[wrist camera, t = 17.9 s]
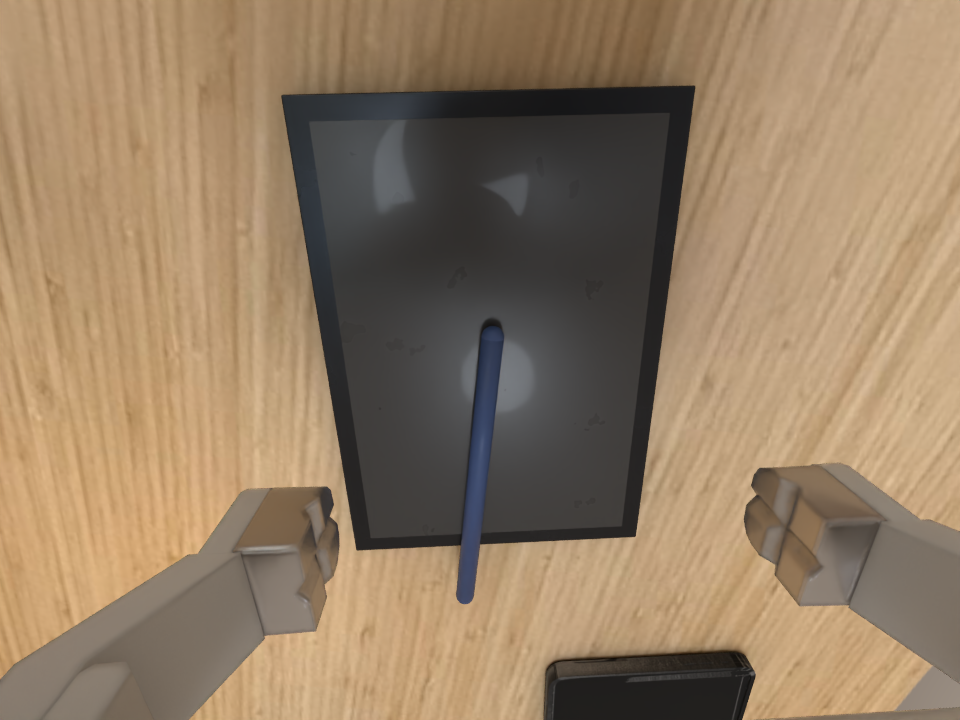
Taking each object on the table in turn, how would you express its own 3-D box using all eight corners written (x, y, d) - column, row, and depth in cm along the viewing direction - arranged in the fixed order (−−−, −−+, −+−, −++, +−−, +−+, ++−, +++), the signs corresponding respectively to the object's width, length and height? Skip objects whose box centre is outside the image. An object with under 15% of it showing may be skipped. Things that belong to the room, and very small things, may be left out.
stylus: (482, 328, 21) (454, 607, 28) (505, 331, 21) (472, 609, 28) (482, 321, 22) (456, 592, 29) (504, 324, 22) (473, 593, 29)
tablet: (289, 98, 20) (279, 94, 18) (685, 89, 20) (697, 84, 19) (359, 538, 29) (355, 552, 28) (630, 525, 29) (636, 538, 28)
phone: (737, 733, 36) (545, 745, 35) (729, 717, 37) (543, 728, 36) (758, 665, 33) (549, 677, 32) (749, 650, 34) (546, 661, 33)
